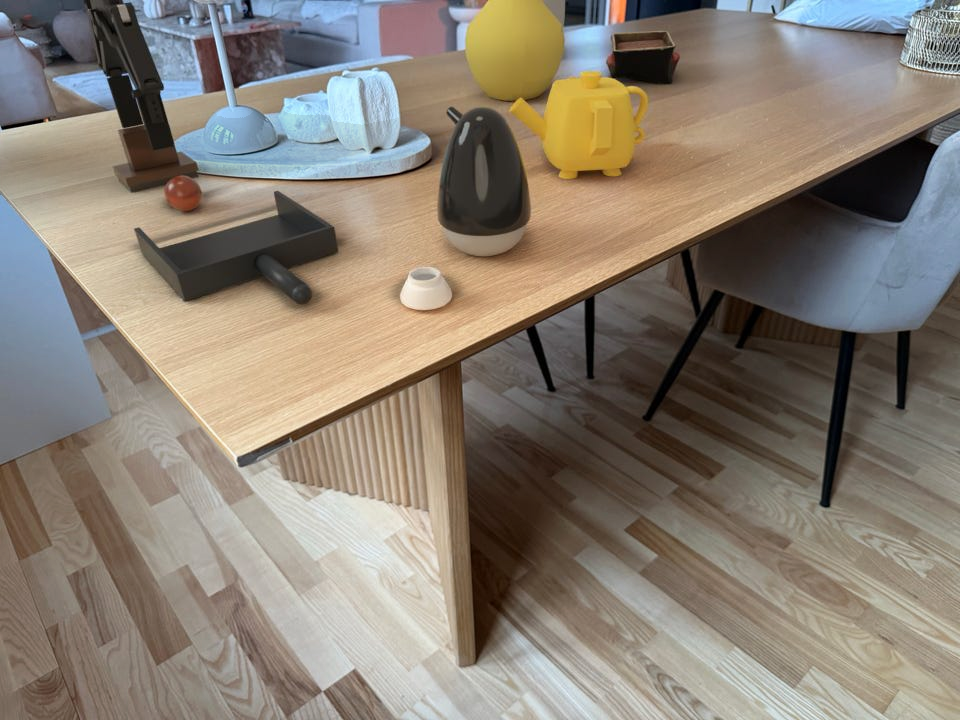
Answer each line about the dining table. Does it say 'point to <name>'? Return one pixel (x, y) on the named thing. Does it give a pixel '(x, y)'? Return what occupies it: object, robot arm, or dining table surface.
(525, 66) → the vase
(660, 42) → the black rectangular planter
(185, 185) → the bead
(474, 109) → the black soy sauce dispenser
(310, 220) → the dustpan
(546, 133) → the teapot
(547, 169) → the dining table surface
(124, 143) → the stepped wooden pedestal
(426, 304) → the white jar
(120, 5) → the robot arm
